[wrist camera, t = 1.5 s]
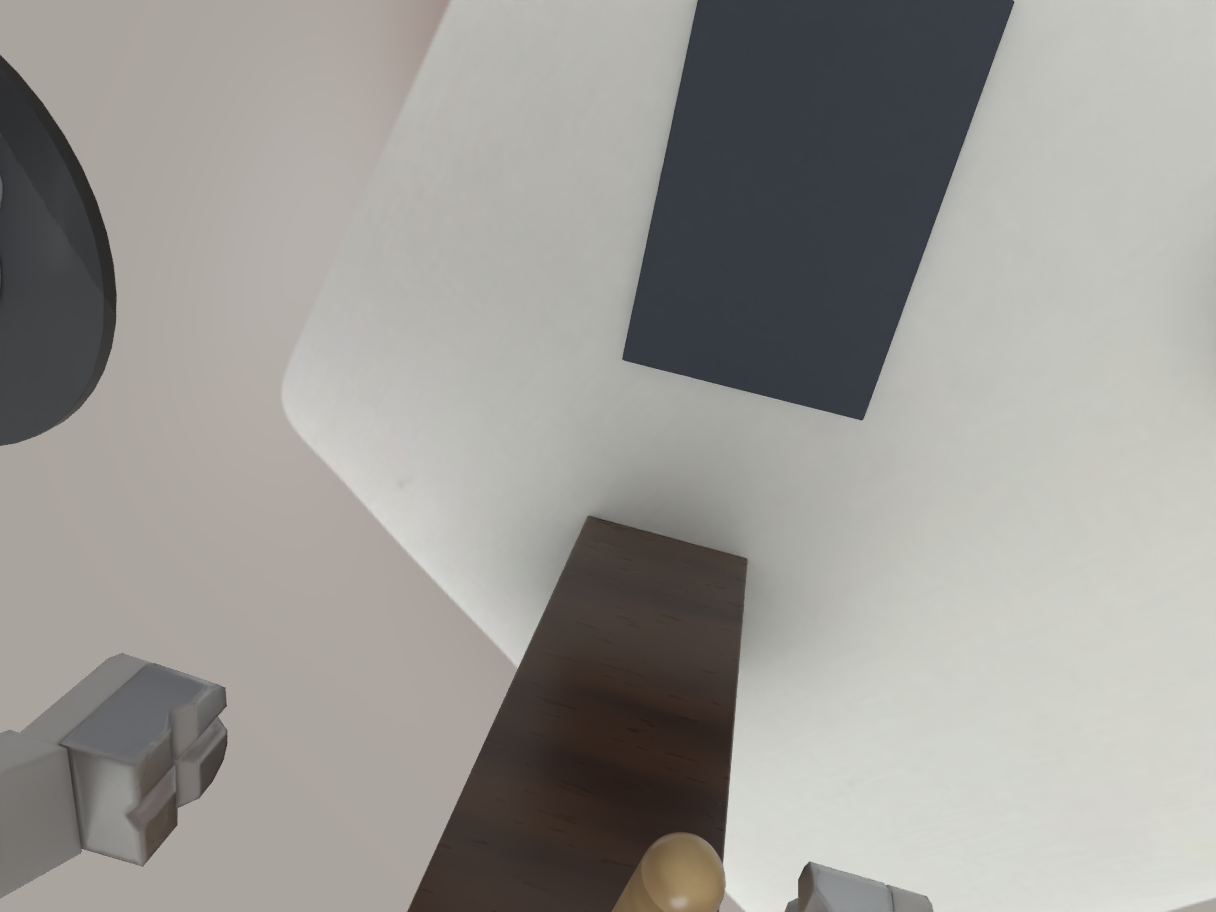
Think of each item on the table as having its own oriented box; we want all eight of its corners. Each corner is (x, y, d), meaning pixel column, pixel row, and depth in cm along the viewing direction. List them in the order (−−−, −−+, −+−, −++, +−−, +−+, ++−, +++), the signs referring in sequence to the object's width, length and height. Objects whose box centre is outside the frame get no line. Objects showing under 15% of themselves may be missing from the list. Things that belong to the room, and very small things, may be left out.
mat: (711, -59, 33) (710, -61, 33) (1011, 1, 32) (1015, 0, 32) (623, 357, 41) (621, 360, 41) (861, 417, 40) (863, 420, 40)
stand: (587, 515, 45) (378, 972, 22) (747, 558, 44) (705, 1081, 21) (563, 629, 49) (361, 1128, 26) (711, 672, 48) (641, 1226, 25)
